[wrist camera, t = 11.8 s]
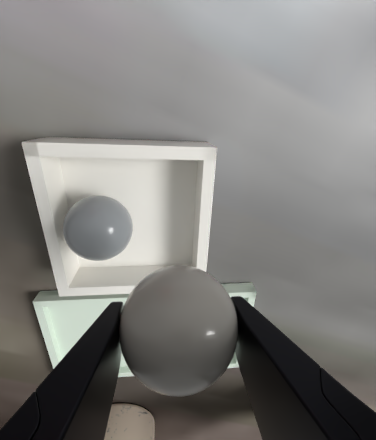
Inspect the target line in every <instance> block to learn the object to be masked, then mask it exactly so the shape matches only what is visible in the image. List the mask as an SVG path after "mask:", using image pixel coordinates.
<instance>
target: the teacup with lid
mask: <svg viewBox="0 0 376 440" xmlns="http://www.w3.org/2000/svg"><path fill="white" fill-rule="evenodd" d="M154 436H155V421H154V418H153V416H152V414H151V413H150V412H149V411H148V410H146V409H145V408H143V407H140V406H138V405H134V404H126V403H117V404H112V406H111V410H110V415H109V419H108V424H107V428H106V433H105V437H104V440H154Z"/></svg>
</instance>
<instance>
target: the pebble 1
mask: <svg viewBox="0 0 376 440" xmlns="http://www.w3.org/2000/svg"><path fill="white" fill-rule="evenodd" d="M132 232H133V223H132V219H131V216H130V214H129V212H128V210H127V209H126V208H125V207H124V206H123V205H122V204H121V203H120V202H118V201H117V200H115V199H113V198H111V197H107V196H100V195H96V196H89V197H86V198H83V199H81V200H79V201H78V202H76V203H75V204H74V205H73V206H72V207H71V208H70V209H69V210H68V212H67V214H66V216H65V218H64V222H63V236H64V239H65V241H66V243H67V245H68V247H69V248H70V249H71V250H72V251H73V252H74V253H75V254H77V255H78V256H80V257H82V258H84V259H87V260H92V261H103V260H108V259H111V258H113V257H115V256H117V255H118V254H120V253H121V252H122V251H123V250H124V249H125V248H126V247H127V245H128V244H129V242H130V240H131V237H132Z"/></svg>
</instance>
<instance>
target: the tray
mask: <svg viewBox="0 0 376 440" xmlns="http://www.w3.org/2000/svg"><path fill="white" fill-rule="evenodd" d="M222 286H223V287H224V288H225V290H226V291H227V292H228V294H229V296H230V298H231V297H232V296H241V297H243V298H244V299H245V300H246V301H247V302H248V303H249V304H251V305H252V306H253V307H254V302H255V297H256V290H255V288H254V286H253V284H252V283H229V284H222ZM128 296H129V294H109V295H86V296H62V297H59V293H58V290H51V291H40V292H39V293H38V294H37V296H36V297H35V299H34V300H33V305H34V308H35V311H36V315H37V318H38V321H39V324H40V327H41V331H42V334H43V337H44V340H45V344H46V347H47V350H48V353H49V356H50V360H51V363H52V366H53V369H54V368H55V367H56V366H57V365H58V363H59V362H60V361H61V360H62V359H63V358H64V356H65V355H66V354H67V353H68V352H69V351H70V349H71V348H72V347H73V346H74V345H75V344H76V342H77V341H78V340H79V339H80V338H81V337H82V335H83V334H84V333H85V332H86V331H87V330H88V328H89V327H90V326H91V325H92V324H93V323H94V321H95V320H96V319H97V318H98V317H99V316H100V314H101V313H102V312H103V311H104V310H105V309H106V307H107V306H108V305H109V304H110V303H111V302H118V301H122V302H123V305H124V304H125V302H126V300H127V298H128ZM236 367H239V365H238V362H237V358H236V354H235V353H234V356H233V358H232V360H231V363H230V364H229V366H228V368H236ZM127 376H134V375H133V374H132V372H131V371H130V369H129V367H128V366H127V364H126V362H125V359H124V357H123V354H122V353H121V362H120V369H119V374H118V377H127Z"/></svg>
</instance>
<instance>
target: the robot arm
mask: <svg viewBox="0 0 376 440" xmlns="http://www.w3.org/2000/svg"><path fill="white" fill-rule="evenodd" d="M231 300H232V302H233V304H234V307H235V311H236V314H237V320H238V341H237V346H236V350H235V354H236V358H237V362H238V365H239V368H240V371H241V374H242V377H243V381H244V384H245V387H246V390H247V393H248V396H249V399H250V402H251V405H252V409H253V412H254V415H255V418H256V421H257V424H258V427H259V430H260V433H261V436H262V440H376V412H374V411H373V410H372V409H371V408H369V407H368V406H367V405H366V404H364V403H363V402H362V401H361V400H359V399H358V398H357V397H356V396H354V395H353V394H352V393H351V392H349V391H348V390H347V389H346V388H345V387H344V386H342V385H341V384H340V383H339V382H338V381H337V380H335V379H334V378H333V377H332V376H331V375H330V374H329V373H327V372H326V371H325V370H324V369H323V368H320V366H319V365H318V364H317V363H316V362H315V361H314V360H313V359H312V358H310V357H309V356H308V355H307V354H306V353H305V352H304V351H303V350H301V349H300V348H299V347H298V346H297V345H296V344H295V343H293V342H292V341H291V340H290V339H289V338H288V337H287V336H286V335H284V334H283V333H282V332H281V331H280V330H279V329H278V328H277V327H275V326H274V325H273V324H272V323H271V322H270V321H269V320H268V319H266V318H265V317H264V316H263V315H262V314H261V313H260V312H259V311H257V310H256V309H255V308H254V307H253V306H252V305H251V304H249V303H248V302H247V301H246V300H245V299H244V298H243V297H241V296H232V297H231ZM123 307H124V305H123V302H122V301H118V302H111V303H110V304H109V305H108V306H107V307H106V309H105V310H104V311H103V312H102V313H101V314H100V316H99V317H98V318H97V319H96V320H95V321H94V323H93V324H92V325H91V326H90V327H89V328H88V330H87V331H86V332H85V333H84V334H83V335H82V337H81V338H80V339H79V340H78V341H77V342H76V344H75V345H74V346H73V347H72V348H71V349H70V351H69V352H68V353H67V354H66V355H65V356H64V358H63V359H62V360H61V361H60V362H59V363H58V365H57V366H56V367H55V368H54V369H53V370H52V371H51V373H50V374H49V375H48V376H47V377H46V378H45V380H44V381H43V382H42V383H41V384H40V385H39V387H38V388H37V389H36V392H33V393H32V395H31V396H30V397H29V398H28V399H27V400H26V402H25V403H24V404H23V405H22V406H21V407H20V408H19V410H18V411H17V412H16V413H15V414H14V415H13V416H12V417H11V419H10V420H9V421H8V422H7V423H6V424H5V425H4V426H3V427H2V428H1V430H0V440H104V437H105V433H106V428H107V424H108V419H109V415H110V410H111V406H112V401H113V397H114V392H115V388H116V383H117V379H118V374H119V369H120V362H121V353H122V351H121V346H120V341H119V324H120V317H121V313H122V310H123Z"/></svg>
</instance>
